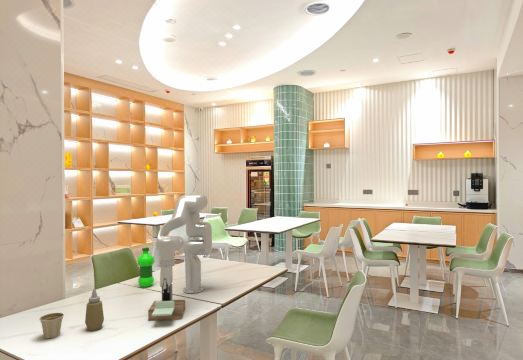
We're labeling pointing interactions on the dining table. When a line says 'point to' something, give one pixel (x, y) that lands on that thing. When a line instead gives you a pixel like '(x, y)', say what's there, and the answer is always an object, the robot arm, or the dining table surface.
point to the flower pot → (51, 324)
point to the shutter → (163, 308)
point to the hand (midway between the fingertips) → (167, 298)
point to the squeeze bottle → (94, 312)
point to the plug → (169, 291)
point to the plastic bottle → (145, 268)
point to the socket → (177, 314)
